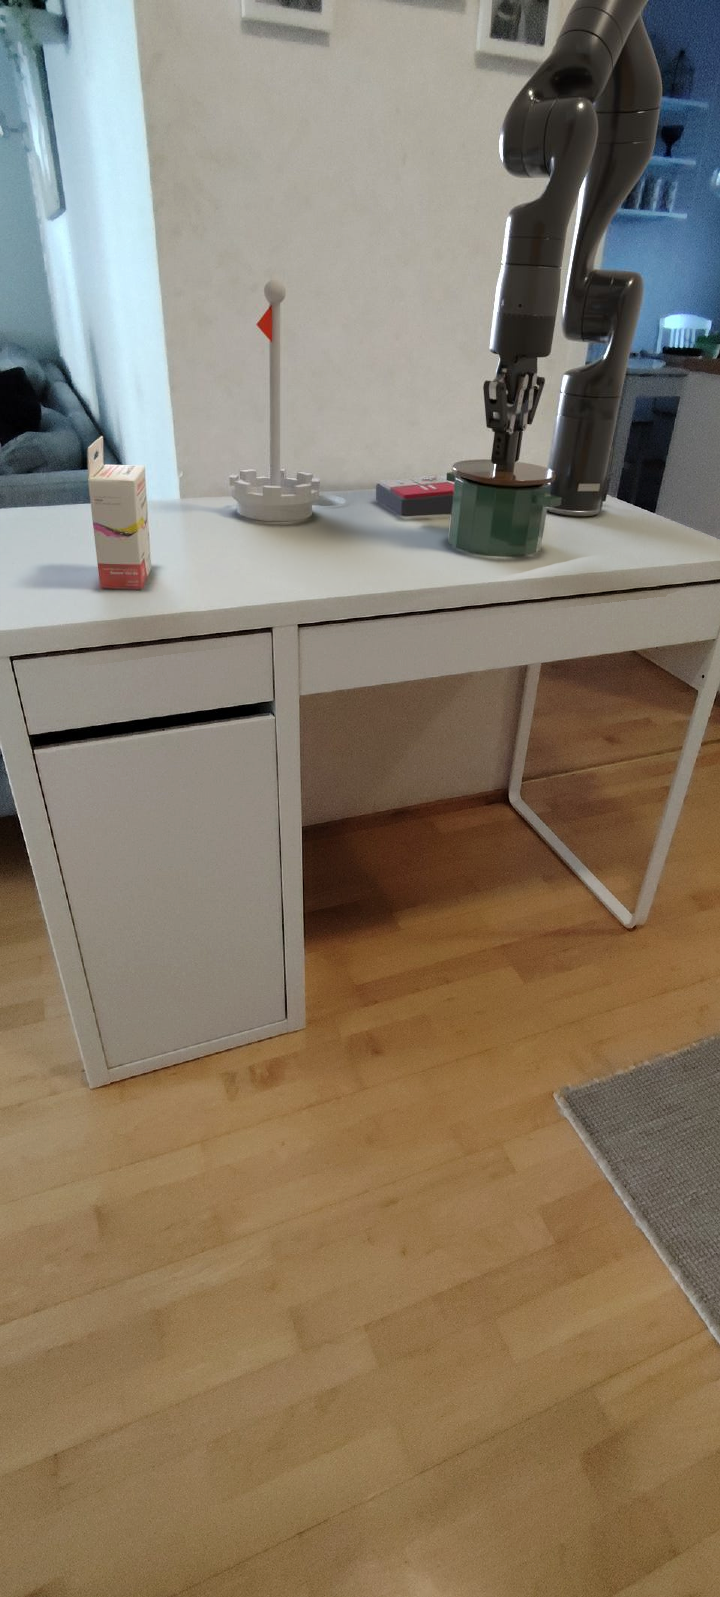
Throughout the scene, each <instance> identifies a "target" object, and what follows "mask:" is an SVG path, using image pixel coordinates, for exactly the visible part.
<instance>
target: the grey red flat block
mask: <svg viewBox="0 0 720 1597" xmlns="http://www.w3.org/2000/svg"><path fill="white" fill-rule="evenodd" d="M446 477H447V475H441V476H438V475H429V476H428V475H427V476H415V477H410V478H394V479H393V478H391V479H384V480H383V479H382V480H380V481H379V483H376V485H375V501H377V502H378V503H380V504H381V505H384V506H385V507H386V508H388V509H389V510H391V511H393V512H395V513H396V514H398V515H400V516H401V517H419V516H440V515H450V514H451V505H452V495H453V485H454V482H451V481H448V480H446Z"/></svg>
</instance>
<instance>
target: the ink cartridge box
mask: <svg viewBox="0 0 720 1597" xmlns="http://www.w3.org/2000/svg"><path fill="white" fill-rule="evenodd" d="M96 454H97V457H95V455H96ZM146 482H147V481H146V466H145V465H142V464H141V465H140V464H138V465H137V464H105V463H104V436H103V435H101V436H99V437H98V438H97V439H95V441H93V442H92V443H91V444H90V445H89V446H87V484H88V492H89V493H88V494H89V501H90V509H91V518H92V519H91V520H92V527H93V538H94V545H95V555H96V562H97V572H98V580H99V588H100V589H118V590H119V589H123V590H124V589H125V590H143V588H144V585H145V583H146V581H147V579H148V577H149V575H150V572H151V571H152V566H153V565H152V556H151V542H150V541H151V540H150V529H149V528H150V527H149V512H148V496H147V495H148V494H147V483H146Z"/></svg>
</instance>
